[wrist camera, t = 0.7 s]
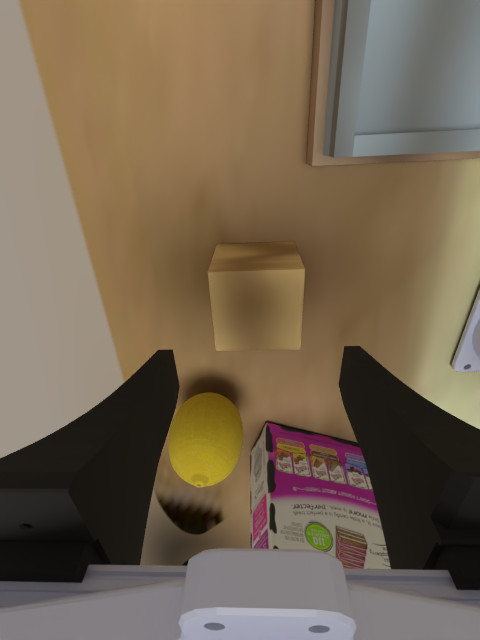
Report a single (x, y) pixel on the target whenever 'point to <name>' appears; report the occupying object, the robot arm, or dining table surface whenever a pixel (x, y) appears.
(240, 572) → the robot arm
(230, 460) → the lemon
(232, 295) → the wooden block
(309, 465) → the candy bar box
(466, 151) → the grey storage bin
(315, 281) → the dining table surface
